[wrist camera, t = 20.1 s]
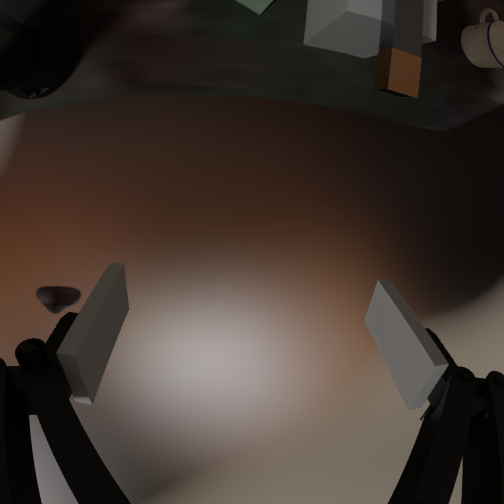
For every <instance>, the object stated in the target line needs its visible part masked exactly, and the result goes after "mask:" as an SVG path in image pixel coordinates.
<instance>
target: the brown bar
mask: <svg viewBox="0 0 504 504" xmlns="http://www.w3.org/2000/svg"><path fill="white" fill-rule="evenodd" d="M423 11H424V0H382V16H381V29H380V41H379V52H378V57H377V66H376V75H375V83H374V90H377V91H380V92H384V93H388V94H391V95H395V96H398V97H401V98H417V96H418V88H419V80H420V71H421V60H422V58H421V48H422V33H423Z"/></svg>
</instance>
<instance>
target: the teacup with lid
mask: <svg viewBox="0 0 504 504" xmlns="http://www.w3.org/2000/svg"><path fill="white" fill-rule="evenodd" d="M489 13H492V15H493V20H494V21H492V22H488V23H485V18H486V16H487V15H488V14H489ZM461 44H462V48H463V51H464V53H465V55H466V56H467V58H468V59H469V60H470V62H471V63H473V64H474V65H476V66H477V67H481V68H504V22H503V21H500V20H499V18H498V15H497V13H496V12H495V11H494V10H492V9H489V8H488V9H485V10H484V11H482V13H481V15H480V24H476V25H470V26H467V27H465V28H464V30H463V31H462V34H461Z"/></svg>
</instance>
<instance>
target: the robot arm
mask: <svg viewBox="0 0 504 504" xmlns="http://www.w3.org/2000/svg"><path fill="white" fill-rule="evenodd" d="M69 1H70V0H0V91H4V90H6V91H7V92H9V93H11V94H13V95H15V96H16V97H19V98H22V99H38V98H42V97H45V96H47V95H49V94H51V93H52V92H54V91H55V90H56V89H57V88H58V87H59V86H60V85H61V84H62V83H63V82H64V81H65V79H66V78H67V77H68V75H69V73H70V71H71V70H72V67H73V65H74V62H75V59H76V55H77V47H78V43H77V36H76V32H75V30H74V28H73V26H72V25H71V24H70V23H69V22H68V21H67V20H65V19H63V18H60V17H58V16H55V15H56V14H57V13H58V12H59V11H60V10H61V9H62V8H63V7H64V6H65V5H66V4H67V3H68V2H69ZM128 310H129V304H128V295H127V286H126V276H125V265H124V264H120V263H110V264H109V266H108V267H107V269H106V270H105V272H104V273H103V275H102V276H101V278H100V279H99V281H98V283H97V284H96V286H95V287H94V289H93V291H92V292H91V294H90V296H89V297H88V299H87V300H86V302H85V304H84V305H83V307H82V309H81V311H80V312H79V313H73V312H68V313H67V314H66V315H64V316H63V317H62V318H61V319H60V320H59V322H58V324H57V325H56V328H54V330H53V332H52V334H51V335H50V337H49V338H48V340H47V342H46V343H44V341H42V340H40V339H36V338H32V339H27V340H25V341H23V342H21V343H20V344H19V345H18V346H17V348H16V350H15V356H16V358H17V360H18V363H19V365H20V366H6V363H5V362H4V360H3V359H1V358H0V504H42V503H41V498H40V493H39V488H38V484H37V478H36V472H35V466H34V459H33V451H32V444H31V434H30V423H29V415H37V416H38V419H39V422H40V424H41V427H42V429H43V432H44V434H45V436H46V439H47V441H48V444H49V446H50V448H51V450H52V453H53V455H54V457H55V459H56V461H57V463H58V465H59V468H60V470H61V471H62V474H63V476H64V477H65V479H66V481H67V483H68V485H69V487H70V489H71V491H72V492H73V494H74V496H75V498H76V500H77V502H78V503H79V504H131V503H130V502H129V500H128V499H127V497H126V496H125V495H124V493H123V492H122V490H121V489H120V487H119V486H118V485H117V483H116V482H115V480H114V479H113V477H112V476H111V474H110V472H109V471H108V469H107V468H106V466H105V465H104V463H103V461H102V460H101V458H100V456H99V455H98V453H97V451H96V450H95V448H94V446H93V444H92V443H91V441H90V439H89V437H88V436H87V434H86V432H85V430H84V428H83V426H82V425H81V423H80V421H79V419H78V417H77V415H76V413H75V411H74V409H73V407H72V405H71V403H70V401H69V399H70V396H71V394H73V397H74V399H75V401H76V402H80V403H85V404H90V405H93V402H94V399H95V396H96V393H97V391H98V388H99V385H100V382H101V379H102V377H103V374H104V371H105V368H106V365H107V363H108V360H109V358H110V355H111V353H112V350H113V347H114V345H115V342H116V340H117V337H118V335H119V332H120V330H121V327H122V325H123V322H124V320H125V318H126V315H127V313H128ZM364 322H365V323H366V325H367V327H368V329H369V331H370V333H371V335H372V337H373V339H374V341H375V343H376V345H377V347H378V349H379V351H380V353H381V355H382V357H383V359H384V361H385V363H386V365H387V367H388V369H389V371H390V373H391V375H392V377H393V379H394V381H395V383H396V386H397V387H398V390H399V392H400V394H401V396H402V398H403V400H404V402H405V405H406V407H407V409H408V410H409V409H415V408H420V407H422V406H423V404H424V403H425V401H426V400H427V399H428V400H429V402H430V406H429V407H428V408H427V410H426V411H425V413H424V414H423V416H422V417H421V418H420V420H422V419H423V418H424V420H423V422H422V425H421V428H420V431H419V434H418V436H417V439H416V441H415V444H414V446H413V449H412V452H411V454H410V456H409V459H408V461H407V464H406V466H405V468H404V470H403V473H402V475H401V477H400V479H399V482H398V484H397V486H396V488H395V490H394V492H393V494H392V496H391V498H390V500H389V502H388V504H448V503H449V501H450V497H451V494H452V492H453V488H454V485H455V482H456V478H457V475H458V471H459V467H460V464H461V460H462V456H463V475H462V498H461V504H504V375H503V374H502V373H500V372H497V371H491V372H490V373H489V374H488V376H487V377H486V378H485V379H484V378H476V377H475V376H474V374H473V373H472V372H471V371H470V370H469V369H467V368H465V367H458V366H457V365H456V363H455V362H454V360H453V359H452V357H451V356H450V354H449V353H448V351H447V350H446V349H445V348H444V345H443V344H442V343H441V341H440V340H439V338H438V337H437V336H436V334H435V333H433V332H432V331H431V330H430V329H429V328H424V327H423V325H422V324H421V322H420V321H419V320H418V318H417V317H416V315H415V314H414V313H413V311H412V310H411V308H410V307H409V306H408V304H407V303H406V302H405V300H404V299H403V298H402V296H401V295H400V293H399V292H398V291H397V290H396V288H395V287H394V285H393V284H392V283H391V281H388V280H378V282H377V285H376V288H375V291H374V294H373V297H372V300H371V303H370V306H369V309H368V312H367V315H366V317H365V320H364Z"/></svg>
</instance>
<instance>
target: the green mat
mask: <svg viewBox="0 0 504 504" xmlns="http://www.w3.org/2000/svg"><path fill="white" fill-rule="evenodd" d="M236 1H237V2H239V3H241V4H243V5H244V6H246V7H248V8H249V9H251V10H252V11H254V12H256V13H257V14H259V15H261V13H262V12H263V11H264V10H265V9H266V8H267V7H268V6H269V5H270V4H271V2H272V1H273V0H236Z"/></svg>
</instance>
